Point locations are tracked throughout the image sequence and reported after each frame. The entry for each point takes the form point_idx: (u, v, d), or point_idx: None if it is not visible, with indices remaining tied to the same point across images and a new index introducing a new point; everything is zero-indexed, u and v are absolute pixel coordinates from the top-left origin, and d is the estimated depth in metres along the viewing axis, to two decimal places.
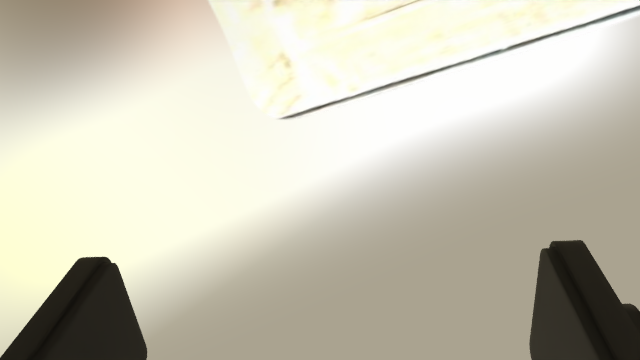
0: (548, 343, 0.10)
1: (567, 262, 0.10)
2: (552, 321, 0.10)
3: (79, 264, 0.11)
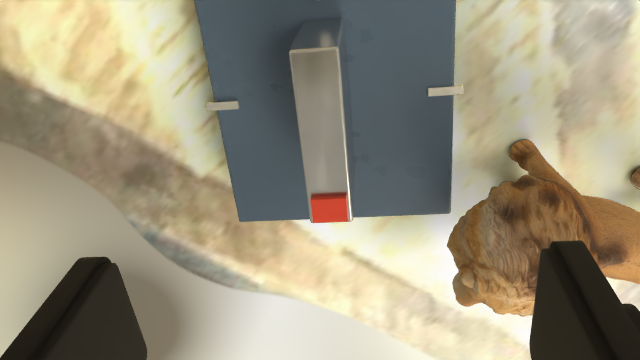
0: (548, 343, 0.10)
1: (567, 262, 0.10)
2: (552, 321, 0.10)
3: (79, 264, 0.11)
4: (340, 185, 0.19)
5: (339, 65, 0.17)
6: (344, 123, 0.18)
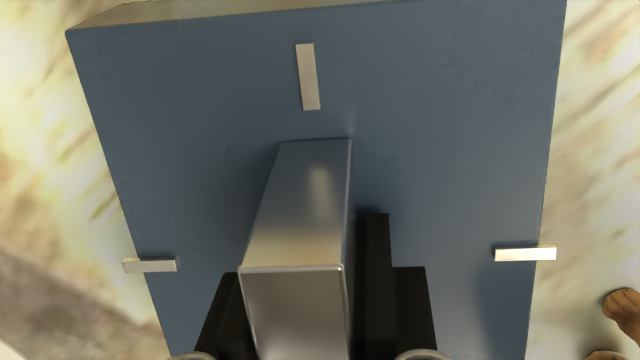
0: None
1: (366, 229, 0.11)
2: None
3: None
4: None
5: (345, 296, 0.08)
6: None
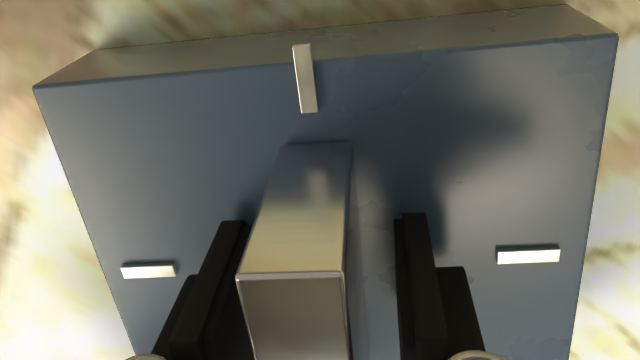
0: None
1: (404, 229, 0.11)
2: None
3: (224, 226, 0.12)
4: None
5: (345, 304, 0.08)
6: None
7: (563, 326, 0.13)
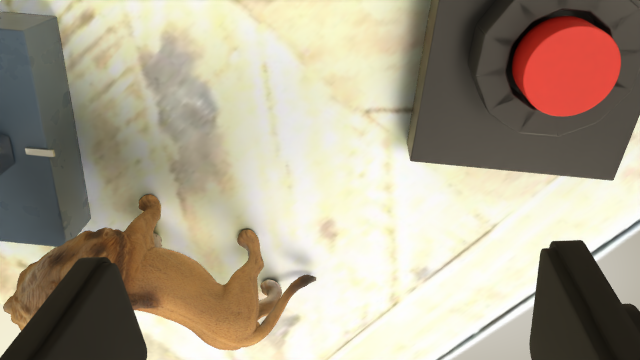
0: (548, 343, 0.10)
1: (567, 262, 0.10)
2: (552, 321, 0.10)
3: (79, 264, 0.11)
4: None
5: None
6: None
7: None
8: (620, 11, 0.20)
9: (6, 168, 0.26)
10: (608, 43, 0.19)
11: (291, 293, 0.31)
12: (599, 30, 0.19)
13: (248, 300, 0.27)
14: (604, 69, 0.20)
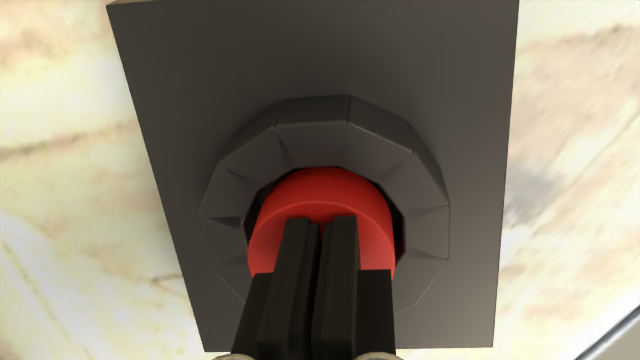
0: None
1: (332, 232, 0.11)
2: None
3: (290, 223, 0.12)
4: None
5: None
6: None
7: None
8: (384, 159, 0.12)
9: None
10: (358, 220, 0.12)
11: None
12: (336, 204, 0.12)
13: None
14: (368, 254, 0.12)
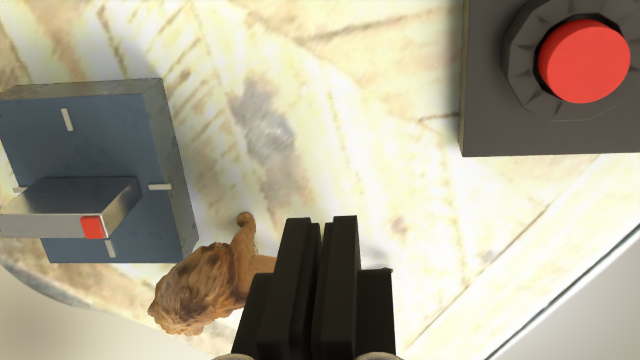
0: None
1: (332, 232, 0.11)
2: None
3: (290, 223, 0.12)
4: (75, 220, 0.29)
5: (3, 214, 0.29)
6: (36, 214, 0.29)
7: (100, 99, 0.30)
8: (624, 9, 0.24)
9: (136, 202, 0.32)
10: (615, 37, 0.23)
11: None
12: (606, 28, 0.23)
13: None
14: (616, 59, 0.24)
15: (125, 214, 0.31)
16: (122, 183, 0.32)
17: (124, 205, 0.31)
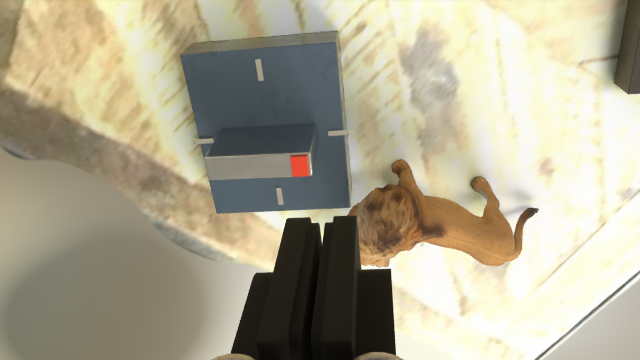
0: None
1: (332, 232, 0.11)
2: None
3: (290, 223, 0.12)
4: (284, 159, 0.31)
5: (213, 157, 0.32)
6: (245, 155, 0.31)
7: (294, 49, 0.33)
8: None
9: (317, 148, 0.35)
10: None
11: (523, 222, 0.39)
12: None
13: (506, 224, 0.35)
14: None
15: (315, 157, 0.33)
16: (309, 129, 0.34)
17: (315, 148, 0.33)
